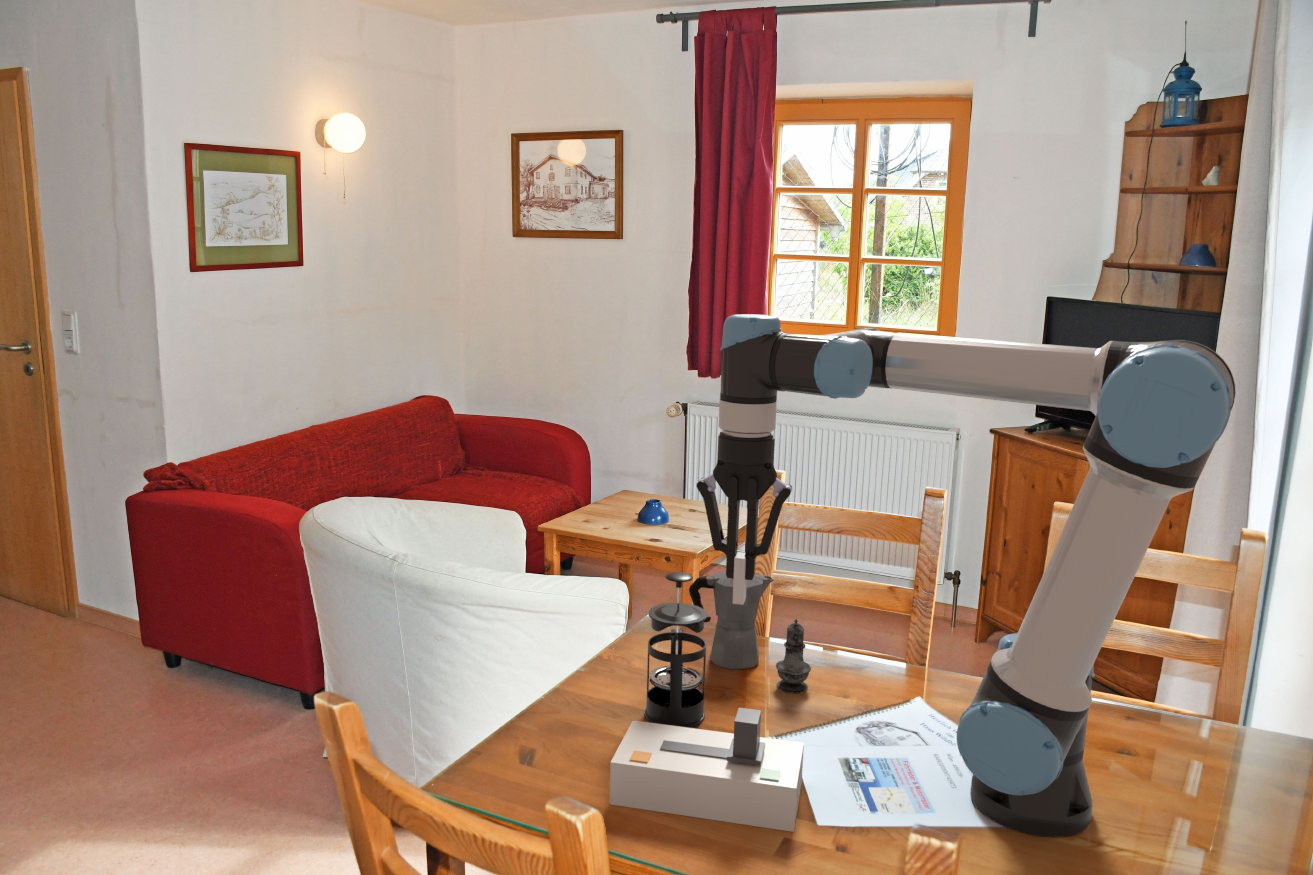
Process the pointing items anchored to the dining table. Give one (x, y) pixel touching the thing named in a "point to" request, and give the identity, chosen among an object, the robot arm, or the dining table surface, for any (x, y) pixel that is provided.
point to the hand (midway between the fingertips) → (739, 600)
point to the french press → (676, 663)
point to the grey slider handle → (747, 738)
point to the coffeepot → (733, 619)
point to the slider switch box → (706, 776)
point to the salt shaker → (793, 662)
